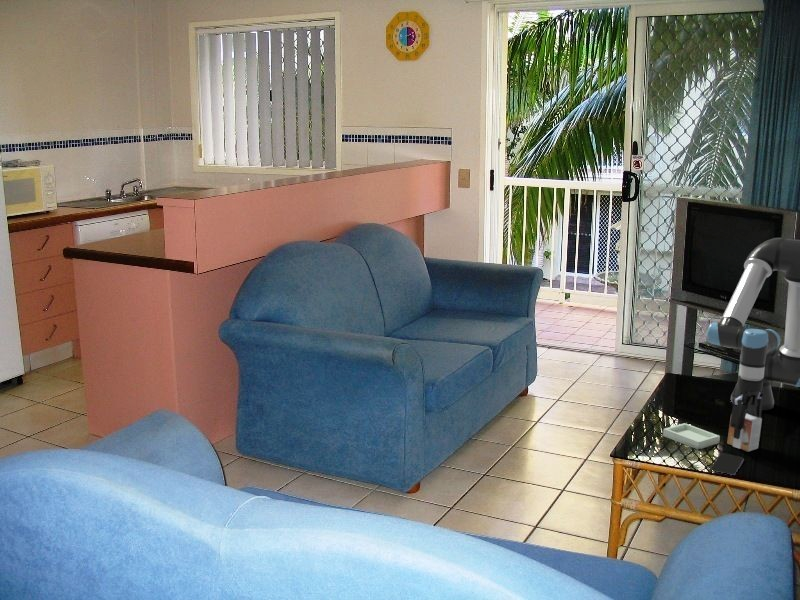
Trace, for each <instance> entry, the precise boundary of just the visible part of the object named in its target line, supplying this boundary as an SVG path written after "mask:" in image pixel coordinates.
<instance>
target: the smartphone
mask: <svg viewBox="0 0 800 600" xmlns="http://www.w3.org/2000/svg"><path fill="white" fill-rule="evenodd" d="M744 461H745V459H744V457H742V456H738V455H733V454H728V453H719V455H718V456H717V458H716V459H715V461H714V462H713V464H712V466H711V467H710V469H711V470H713V471H712V472H714V471H715V470H716V471H717V472H716V473H718V472H721V473H720V474H723V473H727V474H730V475H729V476H732V475H734V476H735V475H736V474H737V473H738V471H739V470H738V469H740V468H741V466H742V465H743V463H744ZM711 470H710V471H711ZM736 472H737V473H736ZM727 474H726V475H727Z"/></svg>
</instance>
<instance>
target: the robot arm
mask: <svg viewBox="0 0 800 600" xmlns="http://www.w3.org/2000/svg"><path fill="white" fill-rule="evenodd" d="M743 268H744V271H743V273H742V274H741V277H740V278H739V281H738V283H737V285H736V288H735V290H734V291H733V293H732V296H731V297H730V300H729V302H728V304H727V306H726V308H725V310H724V312H723V315H722V317H721V318H720V320H719V322H718V321H717V322H716V321H715V322H714V321H713V322H711V323H710V324H709V325H708V327H707V331H706V339H707V341H708V343H710V344H712V345H716V346H719V347H725V348H731V349H736V350H740V356H739V366H738V373H737V374H738V377H737V383H736V384H735V387H734V388H733V390H732V393H731V395H730V400H731V401H730V403H731V402H732V403H731V404H732V409H731V414H732V415H731V414H730V418H731V423H730V422H729V426H730V427H733V428H734V439H733V445H732V447H733V448H737V449H739V450H742V449H741V448H742V439H743V429H742V427H743V423H744V420H745V416H746V413H747V414H750V415H753V416H756V417H759V418H762V412H763V411H769V410H772V409H773V408H774V405H775V399H774V395H773V391H772V382H774V383H779V384H783V385H789V386H793V387H796V388H798V387H800V239H796V238H794V239H792V238H784V237H773V238H771V239H768V240H765V241H764V242H762V243H760V244H759V245H757V246H756V247H755V248H754V249H753V250H751V252H750V253H749V255H748V256H747V258H746V259H745V261H744V263H743ZM775 271H777V272H783V273H784V277H783V278H784V280H785V281H786V282H788V287H787V300H786V301H787V302H786V303H787V304H786V314H785V315H786V318H785V328H784V329H785V331H784V342H783V343H784V344H782V345H781V337H780V334H779V333H778V332H777V330H774V329H771V328H765V329H759V328H749V327H744V325H745V323H746V322H747V319H748V317H749V315H750V313H751V311H752V308H753V307H754V304H755V302H756V300H757V298H758V296H759V293H760V291H761V290H762V288H763V286H764V283H765V281H766V279H767V278H769V277H770V276H771V275H772V274H773V272H775ZM780 345H781V346H780ZM778 348H779V349H778Z"/></svg>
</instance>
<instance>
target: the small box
mask: <svg viewBox="0 0 800 600" xmlns="http://www.w3.org/2000/svg"><path fill="white" fill-rule="evenodd" d="M731 415H732V413H731V414H730V416H731ZM762 421H763V418H762V417H761V418H759V417H756V416H753V415H750V414H748V412H747V413H746V416H745V420H744V423H743V427H742V429H743V439H742V448H741V449H740V450H743V451H745V452H749V453H750V452H752V451H754V450H757V449H759V444H760V443H759V442H760V437H761V429H762V423H763V422H762ZM730 423H731V417H730V420H729V424H730ZM728 427H729V428H728V434H727V435H728V436H727V444H728V445H731V446H733V439H734V428H733V427H730V425H729V426H728Z"/></svg>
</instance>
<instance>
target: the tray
mask: <svg viewBox="0 0 800 600" xmlns="http://www.w3.org/2000/svg"><path fill="white" fill-rule="evenodd" d="M662 432H663V433H662V436H663V437H665V438H667V439H670V440H672V441H675V442H678V443H680V444H682V445H685V446H687V447H691V448H692V449H696V450H700V449H701V450H702V449H704V448H708V447H711V446H714V445H718V444H720V440H721V439H720V437H721V436H720V435H719V434H715V433H713V432H711V431H707V430H705V429H702V428H699V427H696V426H693V425H691V424H688V423H685V422H684V423H680V424H676V425H673V426H669V427H665V428H663V431H662Z"/></svg>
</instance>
